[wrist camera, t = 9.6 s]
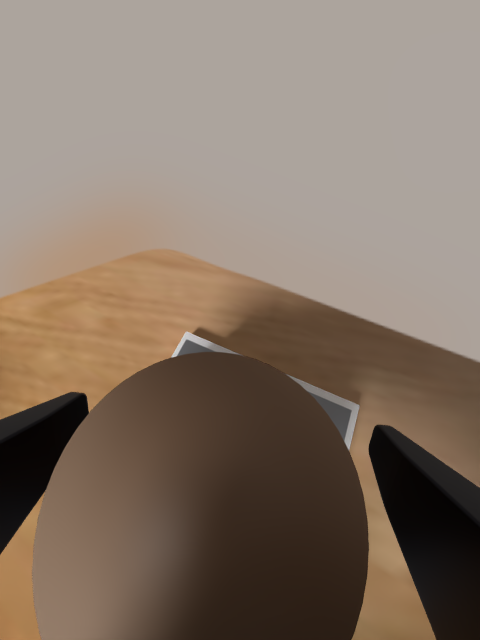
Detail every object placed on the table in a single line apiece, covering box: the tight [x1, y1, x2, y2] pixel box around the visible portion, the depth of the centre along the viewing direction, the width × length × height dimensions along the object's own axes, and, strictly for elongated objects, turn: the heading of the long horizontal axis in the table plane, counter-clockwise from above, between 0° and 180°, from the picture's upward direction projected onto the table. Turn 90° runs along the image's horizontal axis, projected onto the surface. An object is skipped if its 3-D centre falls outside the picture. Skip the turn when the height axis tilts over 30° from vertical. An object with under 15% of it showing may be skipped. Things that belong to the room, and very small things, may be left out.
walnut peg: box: [32, 352, 369, 640], centre depth 9 cm, size 4×4×12 cm
